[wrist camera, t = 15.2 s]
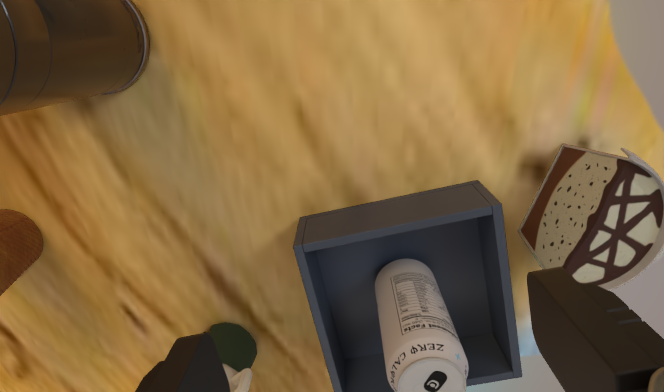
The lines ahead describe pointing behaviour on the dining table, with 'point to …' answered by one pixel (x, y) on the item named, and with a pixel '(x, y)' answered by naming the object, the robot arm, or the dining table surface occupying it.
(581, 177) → the food container
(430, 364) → the energy drink can
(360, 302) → the tub
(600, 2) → the dining table surface
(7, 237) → the disposable coffee cup
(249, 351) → the character mug
